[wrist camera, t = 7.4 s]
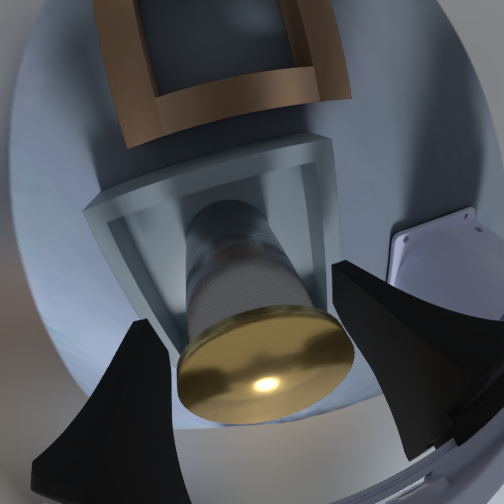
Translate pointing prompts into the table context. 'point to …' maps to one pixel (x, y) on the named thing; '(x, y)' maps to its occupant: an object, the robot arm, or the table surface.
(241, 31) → the table surface
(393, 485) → the robot arm
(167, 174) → the tray
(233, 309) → the jar with gold lid
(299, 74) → the socket block
